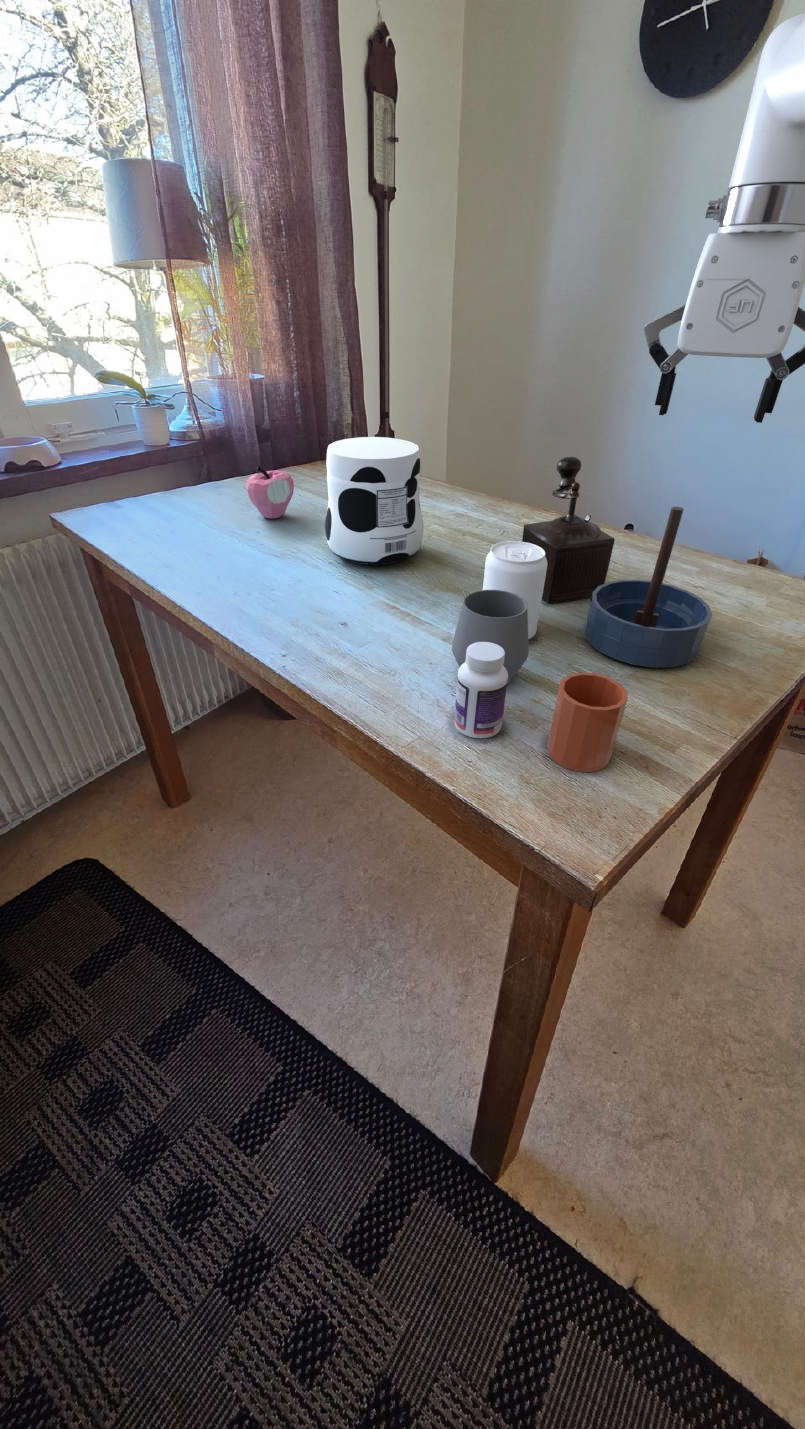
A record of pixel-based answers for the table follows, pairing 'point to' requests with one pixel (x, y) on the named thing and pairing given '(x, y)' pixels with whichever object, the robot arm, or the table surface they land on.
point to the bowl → (640, 644)
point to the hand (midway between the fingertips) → (709, 416)
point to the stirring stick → (660, 570)
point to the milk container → (373, 500)
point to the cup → (494, 626)
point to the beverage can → (518, 575)
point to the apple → (270, 492)
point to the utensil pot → (586, 721)
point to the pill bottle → (481, 691)
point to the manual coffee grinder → (571, 545)
